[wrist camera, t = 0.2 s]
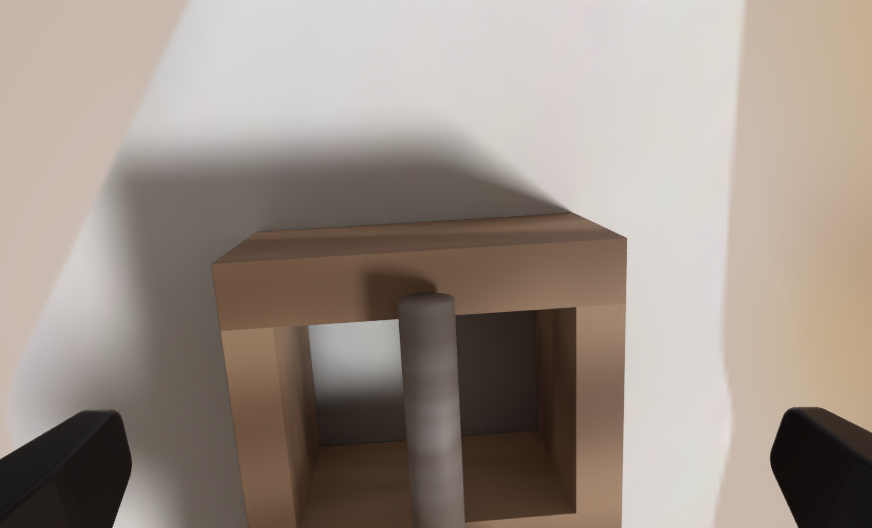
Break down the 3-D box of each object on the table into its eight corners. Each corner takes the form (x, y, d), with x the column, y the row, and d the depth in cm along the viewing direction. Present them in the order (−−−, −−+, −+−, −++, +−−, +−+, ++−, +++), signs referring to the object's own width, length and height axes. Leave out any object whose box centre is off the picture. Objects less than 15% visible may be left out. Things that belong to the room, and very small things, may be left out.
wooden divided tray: (573, 572, 26) (635, 729, 19) (300, 596, 26) (263, 766, 19) (573, 213, 23) (649, 248, 16) (257, 231, 22) (191, 277, 15)
